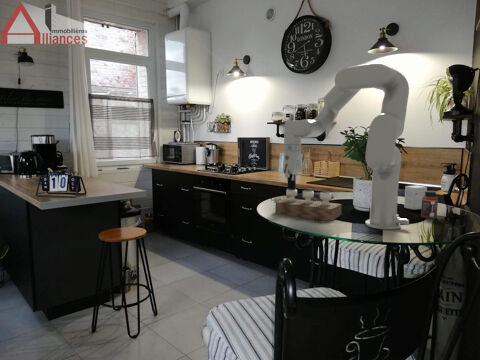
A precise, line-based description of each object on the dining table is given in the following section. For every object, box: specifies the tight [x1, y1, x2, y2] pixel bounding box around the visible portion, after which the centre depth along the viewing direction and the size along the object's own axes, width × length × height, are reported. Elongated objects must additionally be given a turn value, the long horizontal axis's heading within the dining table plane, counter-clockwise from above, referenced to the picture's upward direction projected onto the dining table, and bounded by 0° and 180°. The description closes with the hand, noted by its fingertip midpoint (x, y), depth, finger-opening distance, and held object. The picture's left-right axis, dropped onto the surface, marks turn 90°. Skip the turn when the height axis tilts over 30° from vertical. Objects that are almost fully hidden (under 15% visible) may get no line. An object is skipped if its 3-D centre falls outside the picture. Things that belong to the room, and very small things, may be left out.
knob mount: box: [274, 197, 342, 222], centre depth 155 cm, size 26×12×5 cm, turn 55°
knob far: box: [286, 188, 298, 202], centre depth 158 cm, size 5×5×7 cm
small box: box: [403, 185, 428, 210], centre depth 167 cm, size 8×6×10 cm
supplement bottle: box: [420, 190, 439, 220], centre depth 147 cm, size 6×6×11 cm
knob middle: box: [302, 190, 315, 204], centre depth 154 cm, size 5×5×7 cm
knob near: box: [319, 191, 332, 206], centre depth 149 cm, size 5×5×7 cm
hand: (291, 188), depth 158 cm, fingers closed
